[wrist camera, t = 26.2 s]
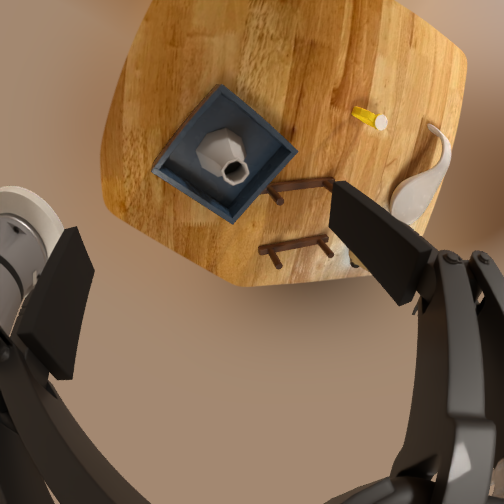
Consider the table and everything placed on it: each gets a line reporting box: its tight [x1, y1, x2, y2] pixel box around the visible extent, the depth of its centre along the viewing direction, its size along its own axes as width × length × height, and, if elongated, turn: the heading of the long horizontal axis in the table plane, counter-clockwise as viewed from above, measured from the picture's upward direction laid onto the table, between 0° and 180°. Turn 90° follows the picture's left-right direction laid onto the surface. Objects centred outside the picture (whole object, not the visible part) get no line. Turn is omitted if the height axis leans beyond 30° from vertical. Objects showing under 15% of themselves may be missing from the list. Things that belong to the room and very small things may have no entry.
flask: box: [196, 127, 249, 186], centre depth 35 cm, size 7×7×10 cm
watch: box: [351, 107, 387, 131], centre depth 38 cm, size 6×3×6 cm, turn 67°
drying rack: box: [258, 177, 335, 269], centre depth 46 cm, size 14×13×6 cm
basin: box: [151, 84, 298, 225], centre depth 37 cm, size 15×15×5 cm
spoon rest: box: [390, 124, 451, 225], centre depth 47 cm, size 24×12×7 cm, turn 161°
